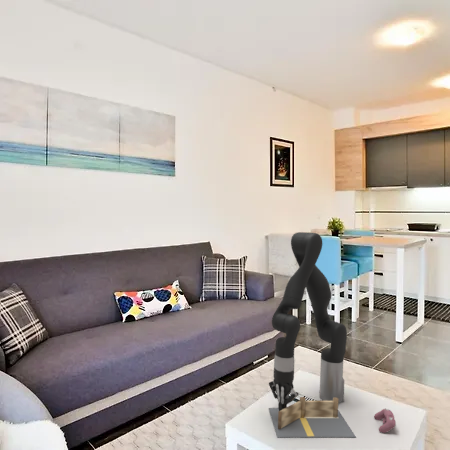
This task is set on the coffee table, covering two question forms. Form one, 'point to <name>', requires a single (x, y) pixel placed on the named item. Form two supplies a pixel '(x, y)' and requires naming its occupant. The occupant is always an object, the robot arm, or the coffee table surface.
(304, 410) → the wooden toy fence
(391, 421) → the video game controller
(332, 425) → the card
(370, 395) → the coffee table surface
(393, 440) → the coffee table surface
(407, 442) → the coffee table surface
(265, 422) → the coffee table surface
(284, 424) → the fence panel
